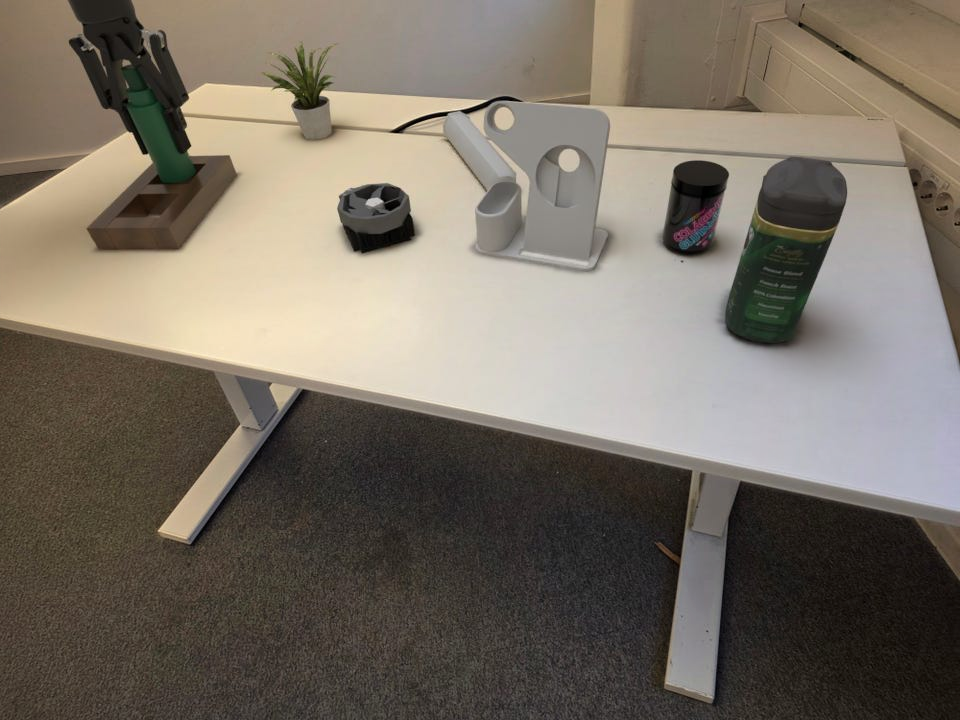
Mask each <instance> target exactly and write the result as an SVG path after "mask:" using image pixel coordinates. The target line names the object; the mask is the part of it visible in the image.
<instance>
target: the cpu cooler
mask: <svg viewBox="0 0 960 720" xmlns="http://www.w3.org/2000/svg"><path fill="white" fill-rule="evenodd" d="M338 198H339V201H338V203H337V207H336V209H337V213H338V217H339V221H340V223H341V224H342V228H343V230H344V232H345V235H346V237H347V238H348V241H349V243H350V245H351V247H352V250H353V252H359V251H361V253H362V254H365V253H366V252H372V251H373V252H374V251H376V250H380V249H383V248H387V247H390V246H394V245H397V244H400V243H405V242H409V241H412V237H415V236H416V232H415V226H414V220H413V216H412V215H411V212H412V209H411V202H410V196H409V195H408V193H406V192H405V191H404V189H402V188H401V187H399V186H397V185H394V184H391V183H388V182H383V183H368V184H364V185H360V186H357V187H350V188H348V189H346V190H345V191H344V192H342V193H341V194H339V195H338Z"/></svg>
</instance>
